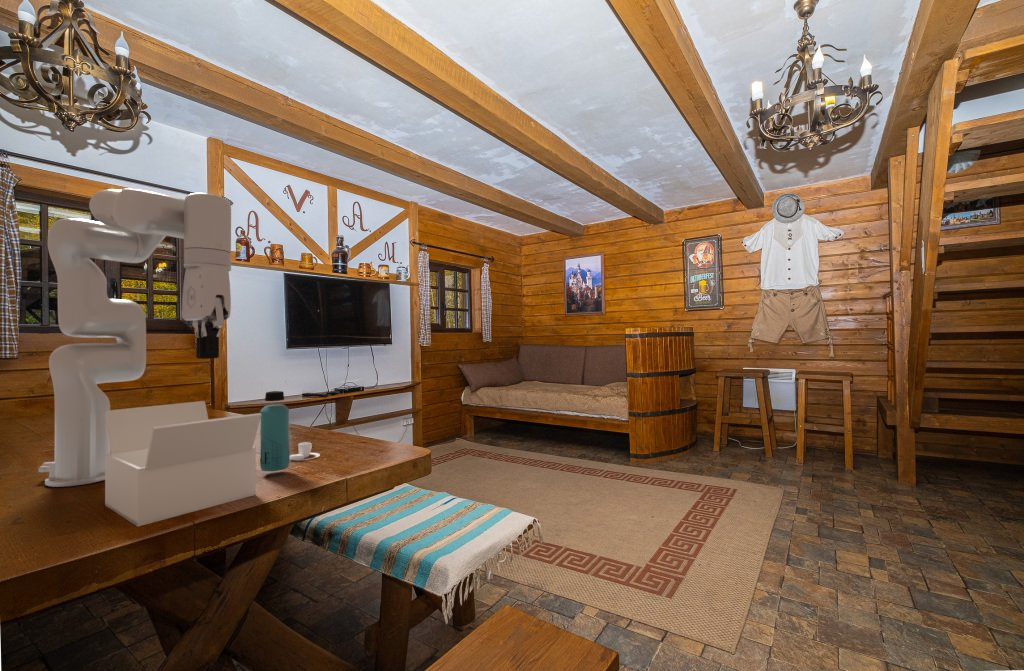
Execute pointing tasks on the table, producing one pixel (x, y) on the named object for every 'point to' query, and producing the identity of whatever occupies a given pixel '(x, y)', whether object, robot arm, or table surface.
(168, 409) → the far flap
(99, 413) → the robot arm
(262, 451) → the beverage bottle
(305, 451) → the teacup and saucer
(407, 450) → the table surface
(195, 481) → the carton
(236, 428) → the near flap
